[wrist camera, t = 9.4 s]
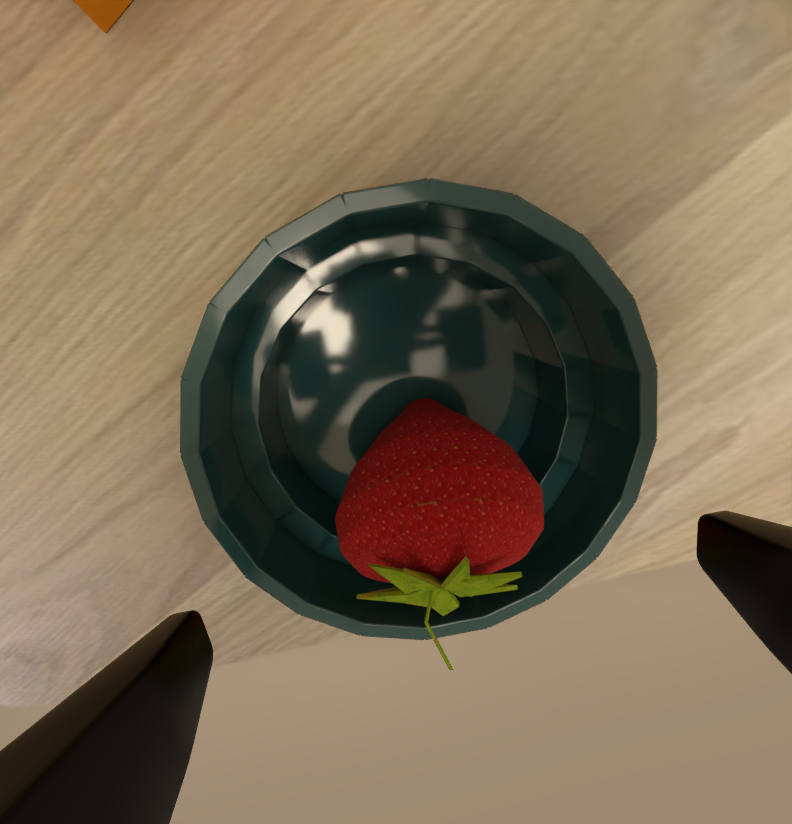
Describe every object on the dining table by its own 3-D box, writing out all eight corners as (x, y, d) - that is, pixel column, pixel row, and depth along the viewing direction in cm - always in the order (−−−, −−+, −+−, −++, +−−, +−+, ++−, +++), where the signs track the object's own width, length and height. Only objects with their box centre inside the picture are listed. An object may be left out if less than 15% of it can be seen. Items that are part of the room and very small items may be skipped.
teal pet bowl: (572, 509, 21) (656, 597, 15) (288, 563, 21) (254, 673, 15) (555, 195, 17) (661, 136, 11) (200, 257, 17) (102, 233, 11)
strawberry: (517, 421, 19) (592, 666, 13) (372, 457, 21) (372, 688, 15) (495, 328, 15) (590, 624, 9) (315, 384, 17) (280, 662, 10)
